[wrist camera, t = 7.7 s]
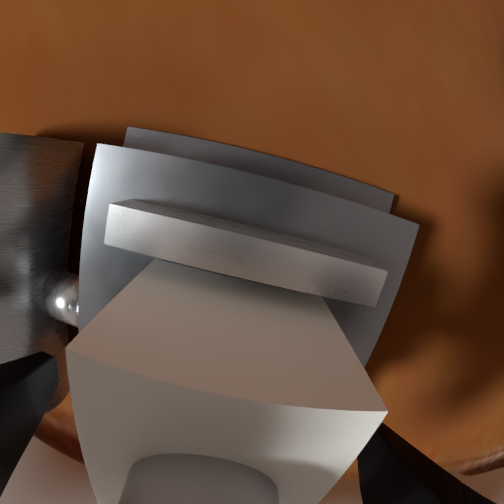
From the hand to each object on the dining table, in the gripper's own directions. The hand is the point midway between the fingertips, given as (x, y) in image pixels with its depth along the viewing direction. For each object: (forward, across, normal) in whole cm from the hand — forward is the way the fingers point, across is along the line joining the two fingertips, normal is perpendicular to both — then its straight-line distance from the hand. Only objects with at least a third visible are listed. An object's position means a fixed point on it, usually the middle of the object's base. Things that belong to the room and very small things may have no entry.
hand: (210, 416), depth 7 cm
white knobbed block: (+2, 0, 0) cm, 2 cm away
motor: (+7, +4, 0) cm, 8 cm away
